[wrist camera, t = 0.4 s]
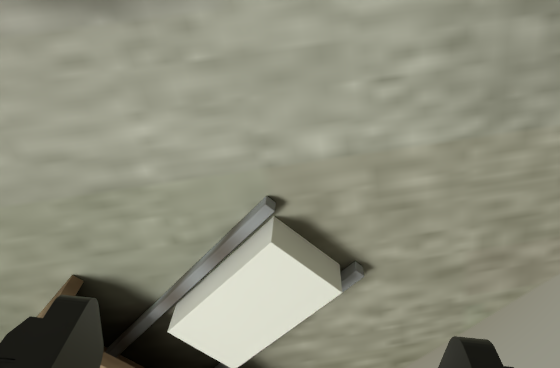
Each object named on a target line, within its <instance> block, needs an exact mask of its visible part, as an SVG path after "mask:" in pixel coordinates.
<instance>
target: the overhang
mask: <svg viewBox="0 0 560 368" xmlns="http://www.w3.org/2000/svg"><path fill="white" fill-rule="evenodd" d="M275 204H276V202H274V201H273V200H272V199H270V198H269V197H267V196H266V197H265V198H264V199H263V200H262V201H261V202H260V203H259V204H258V205H257V206H255V207H254V208H253V209H252V210H251V211H250V212H249V213H248V214H247V215H246V216H245V217H244V218H243V219H242V220H241V221H240V222H239V223H238V224H237V225H236V226H235V227H233V228H232V229H231V230H230V231H229V232H228V233H227V234H226V235H225V236H224V237H223V238H222V239H221V240H220V241H219V242H218V243H217V244H216V245H215V246H214V247H213V248H212V249H210V250H209V251H208V252H207V253H206V254H205V255H204V256H203V257H202V258H201V259H200V260H199V261H198V262H197V263H196V264H195V265H194V266H193V267H192V268H191V269H190V270H188V271H187V272H186V273H185V274H184V275H183V276H182V277H181V278H180V279H179V280H178V281H177V282H176V283H175V284H174V285H173V286H172V287H171V288H170V289H169V290H168V291H167V292H165V293H164V294H163V295H162V296H161V297H160V298H159V299H158V300H157V301H156V302H155V303H154V304H153V305H152V306H151V307H150V308H149V309H148V310H147V311H146V312H145V313H143V314H142V315H141V316H140V317H139V318H138V319H137V320H136V321H135V322H134V323H133V324H132V325H131V326H130V327H129V328H128V329H127V330H126V331H125V332H124V333H123V334H122V335H120V336H119V337H118V338H117V339H116V340H115V341H114V342H113V343H112V344H111V345H110V346H109V347H108V348H106V347H103V357H102V361H101V365H100V368H144V367H142V366H141V365H139V364H137V363H135V362H133V361H131V360H129V359H127V358H125V357H123V356H121V355H119V354H120V353H121V352H122V351H124V350H125V349H126V348H127V347H128V346H129V345H130V344H131V343H132V342H133V341H134V340H135V339H137V338H138V337H139V336H140V335H141V334H142V333H143V332H144V331H145V330H146V329H147V328H148V327H150V326H151V325H152V324H153V323H154V322H155V321H156V320H157V319H158V318H159V317H160V316H162V315H163V314H164V313H165V312H166V311H167V310H168V309H169V308H170V307H171V306H172V305H173V304H175V303H176V302H177V301H178V300H179V299H180V298H181V297H182V296H183V295H184V294H185V293H187V292H188V291H189V290H190V289H191V288H192V287H193V286H194V285H195V284H196V283H197V282H198V281H200V280H201V279H202V278H203V277H204V276H205V275H206V274H207V273H208V272H209V271H210V270H211V269H213V268H214V267H215V266H216V265H217V264H218V263H219V262H220V261H221V260H222V259H223V258H225V257H226V256H227V255H228V254H229V253H230V252H231V251H232V250H233V249H234V248H235V247H236V246H238V245H239V244H240V243H241V242H242V241H243V240H244V239H245V238H246V237H247V236H248V235H249V234H251V233H252V232H253V231H254V230H255V229H256V228H257V227H258V226H259V225H260V224H261V223H263V222H264V221H265V220H266V219H267V218H268V217H269V216H270V215H271V214H272V213H273V212H274V211H275ZM340 274H341V285H342V292H343V291H345V290H346V289H348V288H349V287H350V286H352V285H353V284H354V283H356V282H357V281H359V280H360V279H361V278H363V277H364V272H363V267H362V266H361V265H360V264H358V263H357V262H356V261H355V262H353V263H352V264H351V265H349V266H348V267H347V268H345V269H344V270H343V271H341V272H340ZM83 282H84V281H83V280H81V279H79V278H77V277H75V276H74V275H72V276H71V277H70V278H69V279H68V281H67V282H66V283H65V284H64V285H63V287H62V288H61V289H60V290H59V291H58V293H57V294H56V295H55V296H54V297H53V298H52V300H51V301H50V302H49V303H48V304H47V306H46V307H45V308H44V309H43V310H42V311H41V313H40V314H39V315H38V316H37V317H39V318H43V317H44V315H45V314H46V312H47V311H48V309H49V308H50V306H51V305H52V303H53V302H54V300H55V299H56V298H57V297H58V296H59V295H70V296H76V294H77V292H78V290H79V289H80V287H81V285H82V284H83ZM307 318H308V317H307ZM300 323H301V322H300ZM296 326H297V325H296ZM293 328H294V327H293ZM289 331H290V330H289ZM286 333H287V332H286ZM286 333H285V334H286ZM282 336H283V335H282ZM279 338H280V337H279ZM279 338H278V339H279ZM275 341H276V340H275ZM275 341H274V342H275ZM272 343H273V342H272ZM272 343H271V344H272ZM268 346H269V345H268ZM268 346H267V347H268ZM265 348H266V347H265ZM265 348H264V349H265ZM264 349H263V350H264ZM261 351H262V350H261ZM261 351H260V352H261ZM257 354H258V353H257ZM257 354H256V355H257ZM254 356H255V355H254ZM254 356H253V357H254ZM250 359H251V358H250ZM250 359H249V360H250ZM247 361H248V360H247ZM247 361H246V362H247ZM246 362H245V363H246ZM243 364H244V363H243ZM243 364H242V365H243ZM240 366H241V365H240ZM240 366H239V367H240ZM239 367H238V368H239ZM214 368H230V367H228V366H226V365H224V364H223V363H219V364H218V365H217V366H216V367H214Z"/></svg>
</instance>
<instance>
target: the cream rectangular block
mask: <svg viewBox="0 0 560 368" xmlns="http://www.w3.org/2000/svg"><path fill="white" fill-rule="evenodd" d="M341 293H342V285H341V274H340V264H338V263H337V262H336V261H334V260H333V259H332V258H330V257H329V256H327V255H326V254H325V253H323V252H322V251H321V250H319V249H318V248H317V247H315V246H314V245H313V244H311V243H310V242H308V241H307V240H306V239H304V238H303V237H302V236H300V235H299V234H298V233H296V232H295V231H294V230H292V229H291V228H289V227H288V226H287V225H285V224H284V223H283V222H281V221H280V220H279V219H277V218H276V217H275V216H273V217H272V218H271V219H270V220H269V221H268V222H267V223H266V224H264V225H263V226H262V227H261V228H260V229H259V230H258V231H257V232H256V233H254V234H253V235H252V236H251V237H250V238H249V239H248V240H247V241H245V242H244V243H243V244H242V245H241V246H240V247H239V248H238V249H237V250H235V251H234V252H233V253H232V254H231V255H230V256H229V257H228V258H227V259H225V260H224V261H223V262H222V263H221V264H220V265H219V266H218V267H217V268H215V269H214V270H213V271H212V272H211V273H210V274H209V275H208V276H207V277H205V278H204V279H203V280H202V281H201V282H200V283H199V284H198V285H197V286H195V287H194V288H193V289H192V290H191V291H190V292H189V293H188V294H187V295H185V296H184V297H183V298H182V299H181V300H180V301H179V302H178V303H177V304H176V307H175V310H174V313H173V316H172V319H171V322H170V325H169V328H168V331H167V332H168V333H170V334H172V335H173V336H175V337H177V338H179V339H180V340H182V341H184V342H186V343H187V344H189V345H191V346H193V347H194V348H196V349H198V350H200V351H202V352H203V353H205V354H207V355H209V356H210V357H212V358H214V359H216V360H217V361H219V362H221V363H223V364H224V365H226V366H228V367H230V368H238V367H239V366H240V365H242V364H243V363H245V362H246V361H247V360H249V359H250V358H252V357H253V356H254V355H256V354H257V353H259V352H260V351H261V350H263V349H264V348H265V347H267V346H268V345H270V344H271V343H272V342H274V341H275V340H277V339H278V338H279V337H281V336H282V335H284V334H285V333H286V332H288V331H289V330H291V329H292V328H293V327H295V326H296V325H298V324H299V323H300V322H302V321H303V320H305V319H306V318H307V317H309V316H310V315H312V314H313V313H314V312H316V311H317V310H319V309H320V308H321V307H323V306H324V305H326V304H327V303H328V302H330V301H331V300H333V299H334V298H335V297H337V296H338V295H340V294H341Z"/></svg>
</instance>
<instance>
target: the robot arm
mask: <svg viewBox="0 0 560 368" xmlns="http://www.w3.org/2000/svg"><path fill="white" fill-rule="evenodd" d="M103 347H104V345H103V336H102V328H101V321H100V313H99V305H98V301H97V299H96V298H90V297H80V296H70V295H59V296H58V297H57V298H56V299H55V300H54V302H53V303H52V305H51V306H50V308H49V309H48V311H47V312H46V314H45V315H44V317H43V318H39V317H29V318H27V319H26V320H25V321H24V322H22V323H21V324H20V325H18V326H17V327H16V328H14V329H13V330H12V331H10V332H9V333H8V334H7V335H6V336H5V337H4V339H3V340H2V342H1V343H0V368H100V365H101V361H102V357H103ZM438 368H514V367H506V366H503V364H502V362H501V360H500V358H499V356H498V354H497V352H496V349H495V347H494V346H493V344H492V343H491V342H490V341H489V340H485V339H475V338H465V337H456V336H454V337H452V338H451V339H450V341H449V343H448V346H447V348H446V350H445V353H444V355H443V358H442V360H441V362H440V365H439V367H438Z"/></svg>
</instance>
